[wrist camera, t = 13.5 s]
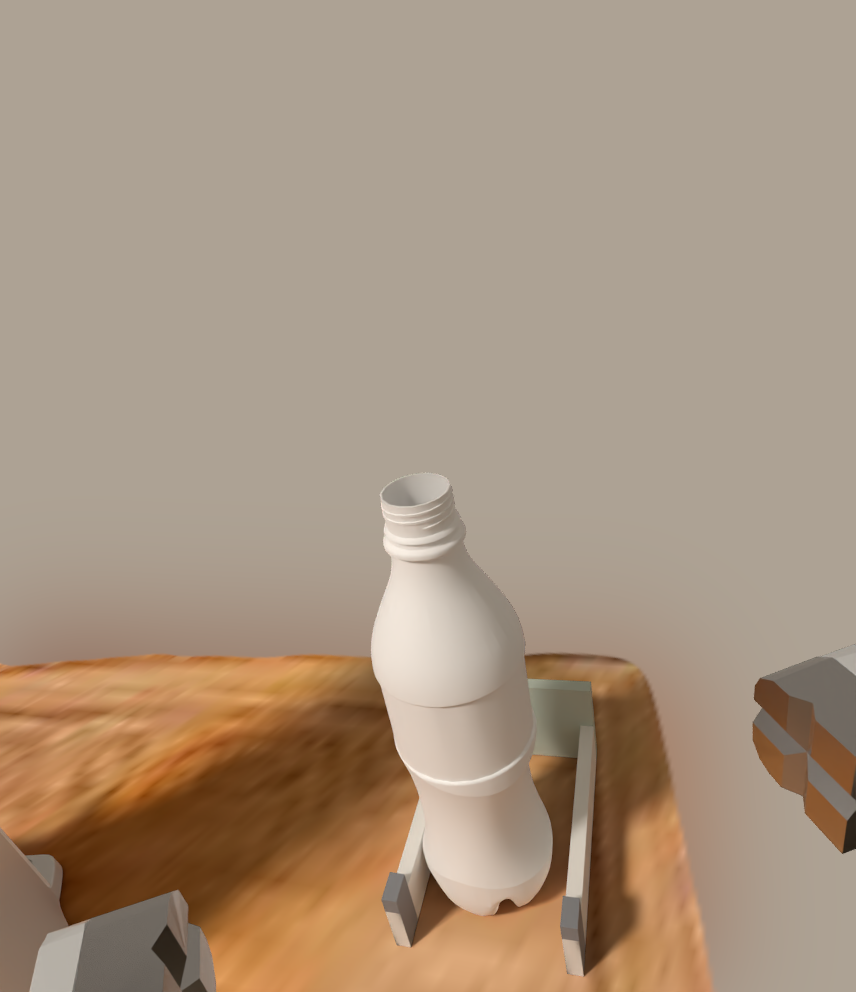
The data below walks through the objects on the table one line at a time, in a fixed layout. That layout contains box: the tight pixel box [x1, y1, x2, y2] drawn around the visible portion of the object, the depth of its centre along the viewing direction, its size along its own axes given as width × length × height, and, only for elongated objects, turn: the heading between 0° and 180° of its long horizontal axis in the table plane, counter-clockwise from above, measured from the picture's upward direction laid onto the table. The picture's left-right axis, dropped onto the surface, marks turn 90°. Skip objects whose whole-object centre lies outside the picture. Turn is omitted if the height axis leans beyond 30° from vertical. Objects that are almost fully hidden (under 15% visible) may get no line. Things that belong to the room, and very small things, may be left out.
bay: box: [382, 679, 597, 977], centre depth 41 cm, size 10×14×6 cm
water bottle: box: [371, 473, 553, 916], centre depth 35 cm, size 7×7×25 cm
